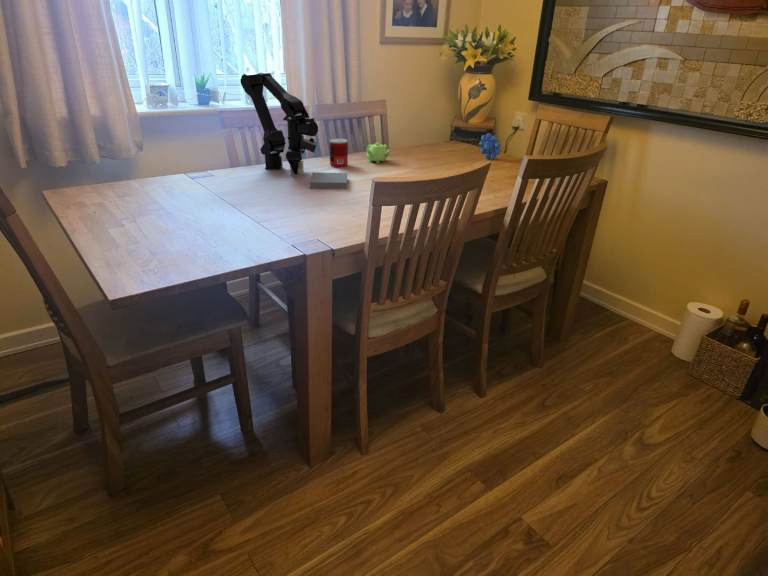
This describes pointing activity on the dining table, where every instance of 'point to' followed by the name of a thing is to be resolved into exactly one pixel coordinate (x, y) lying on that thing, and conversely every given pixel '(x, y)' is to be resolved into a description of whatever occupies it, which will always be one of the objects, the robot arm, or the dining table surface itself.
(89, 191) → the dining table surface
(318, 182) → the base slab
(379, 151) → the green rounded lump
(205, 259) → the dining table surface
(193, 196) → the dining table surface
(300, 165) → the sage block
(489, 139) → the grapes
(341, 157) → the canned food
